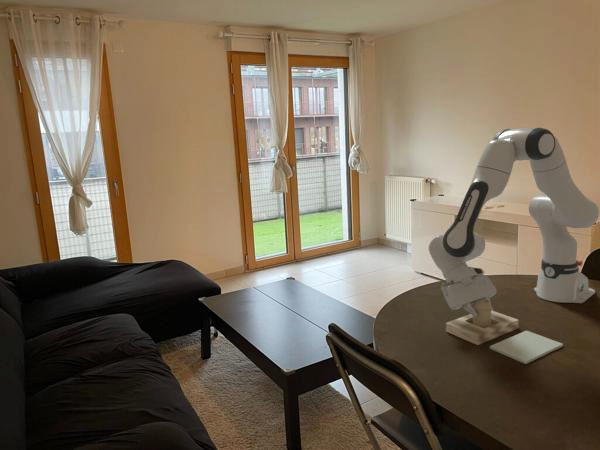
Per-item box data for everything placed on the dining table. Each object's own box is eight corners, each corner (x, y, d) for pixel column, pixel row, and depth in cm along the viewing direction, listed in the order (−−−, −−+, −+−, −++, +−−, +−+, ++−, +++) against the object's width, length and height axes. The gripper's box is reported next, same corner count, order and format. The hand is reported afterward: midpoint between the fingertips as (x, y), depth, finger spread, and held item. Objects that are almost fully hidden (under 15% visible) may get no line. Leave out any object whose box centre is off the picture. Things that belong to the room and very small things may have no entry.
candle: (492, 333, 152) (492, 304, 150) (474, 333, 153) (474, 304, 151) (489, 326, 157) (489, 298, 155) (471, 326, 158) (472, 298, 156)
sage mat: (526, 332, 151) (526, 330, 151) (562, 346, 141) (563, 343, 141) (489, 348, 142) (489, 346, 142) (525, 364, 132) (525, 361, 132)
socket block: (485, 316, 165) (485, 308, 165) (518, 328, 154) (518, 319, 154) (445, 331, 156) (445, 322, 155) (477, 345, 145) (477, 336, 144)
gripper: (443, 280, 152) (467, 317, 146) (485, 267, 162) (509, 302, 156) (433, 289, 157) (456, 326, 151) (474, 276, 167) (497, 310, 161)
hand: (483, 313), depth 153 cm, fingers closed on candle, 5 cm apart
